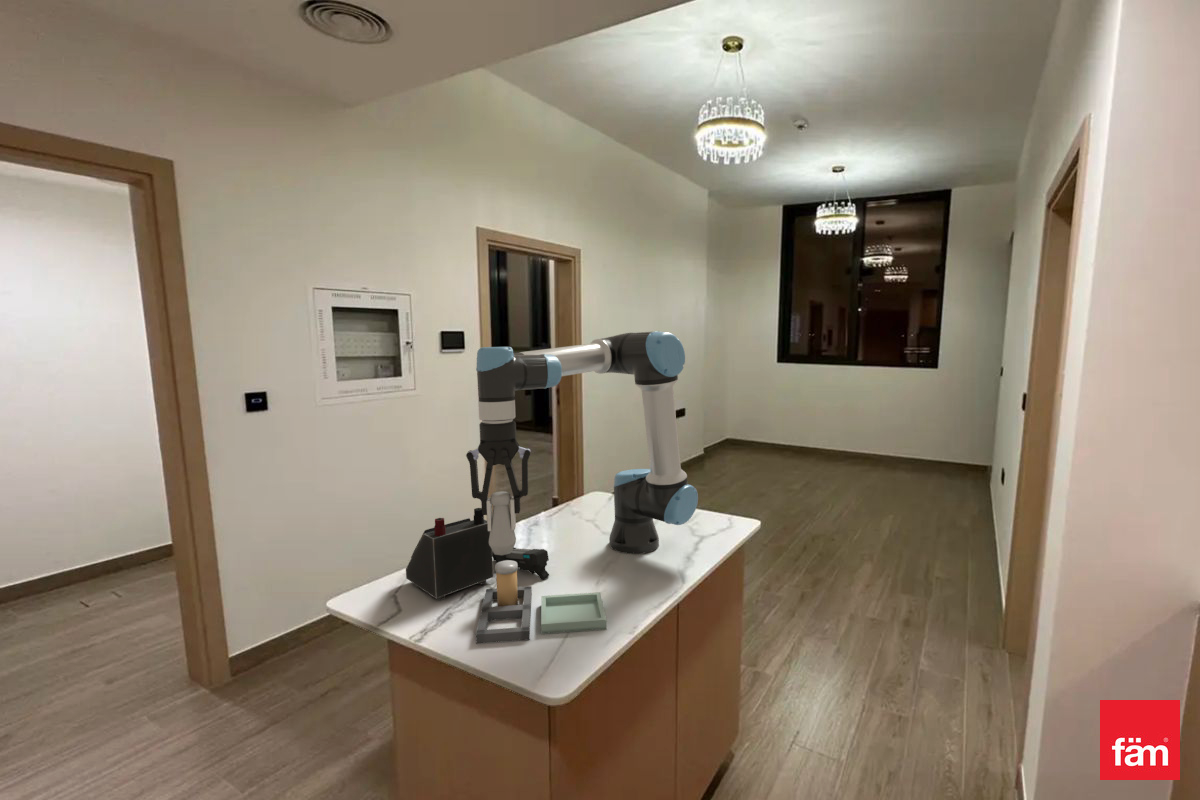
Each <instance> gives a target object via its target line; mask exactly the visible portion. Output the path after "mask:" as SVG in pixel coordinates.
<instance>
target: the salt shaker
mask: <svg viewBox="0 0 1200 800" xmlns="http://www.w3.org/2000/svg"><path fill="white" fill-rule="evenodd" d="M511 497H512V496H511V493H509V492H508V491H502V490H501V491H494V492H493V493H491V495H490V497H489V498H490V500H491V504H492V505H493V506H492V531H490V536H489V545H490V547H491V549H492V550H493V552H494V554H496V555H506V554H510V553H511V552H512V550H513V548H515V545H516V543H517V536H516V532H515V530H511V508H510V506H509V504H510V499H511Z"/></svg>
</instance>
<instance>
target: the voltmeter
mask: <svg viewBox="0 0 1200 800" xmlns="http://www.w3.org/2000/svg"><path fill="white" fill-rule="evenodd" d="M489 536H490V531H488V523H487V519H485V515H483V514H482V507H477V508H474V509H473V520H471V519H470V517H468V518H464V519H462V520H456V521H453V522H450V523H446V524H445V518H444V517H437V518H435V519H434V526H433V527H431V528H428V529H425V530H424V531H423V533H422V535H421V537H420V538H419V541H418V543H417V545H416V546H415V548H414V550H413V551H412V555H411V557H410V560H409V562H408V564H407V566H406V568H405V576H406V579H407V580H408V581H409V582H411V583H413V585H414V586H416V587H418V588H420V589H422V590H423V591H424V592H426V593H428V595H430V596H432V597H433V598H435V599H436V600H438V601H440V600H441V601H442V600H444V599H445V598H446V597H445V596H447V595H449V594H452V593H455V592H457V591H460V590H463V589H466V588H468V587H471V586H474V585H476V584H478V585H486V583H487V580H490V579H492V578H494V565H493V564H494V563H493V561H494V560H493V557H492V549H491V547H490V545H489Z"/></svg>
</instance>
